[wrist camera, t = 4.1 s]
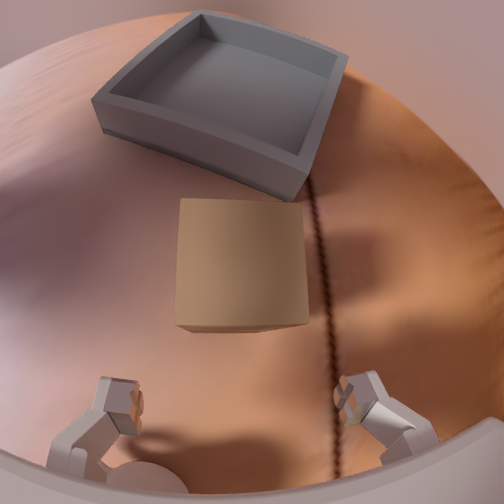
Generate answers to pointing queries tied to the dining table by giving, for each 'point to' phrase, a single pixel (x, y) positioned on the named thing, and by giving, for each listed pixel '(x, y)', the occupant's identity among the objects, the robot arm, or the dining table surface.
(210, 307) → the walnut block
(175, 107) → the bin
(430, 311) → the dining table surface
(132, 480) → the cup
